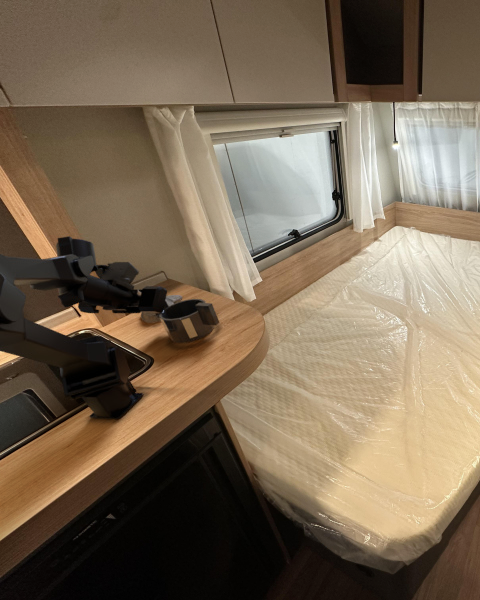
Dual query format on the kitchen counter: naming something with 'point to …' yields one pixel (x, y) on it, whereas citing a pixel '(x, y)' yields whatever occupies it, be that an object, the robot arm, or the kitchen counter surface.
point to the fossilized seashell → (152, 316)
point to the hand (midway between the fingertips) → (150, 308)
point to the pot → (188, 320)
